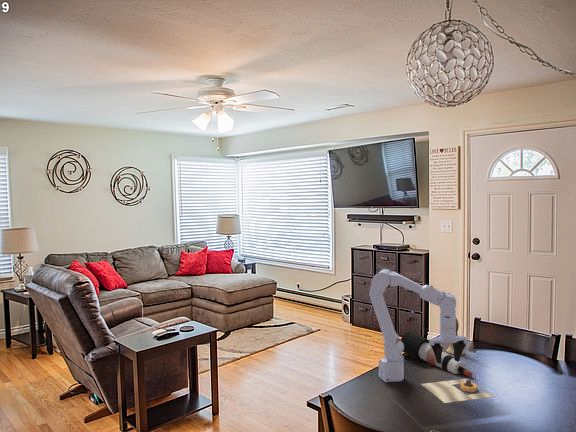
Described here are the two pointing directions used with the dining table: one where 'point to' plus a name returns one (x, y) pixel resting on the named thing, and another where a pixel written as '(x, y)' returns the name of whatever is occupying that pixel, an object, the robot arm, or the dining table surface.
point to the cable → (430, 354)
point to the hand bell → (451, 348)
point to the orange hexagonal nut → (468, 389)
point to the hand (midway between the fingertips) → (447, 361)
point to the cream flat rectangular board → (453, 391)
